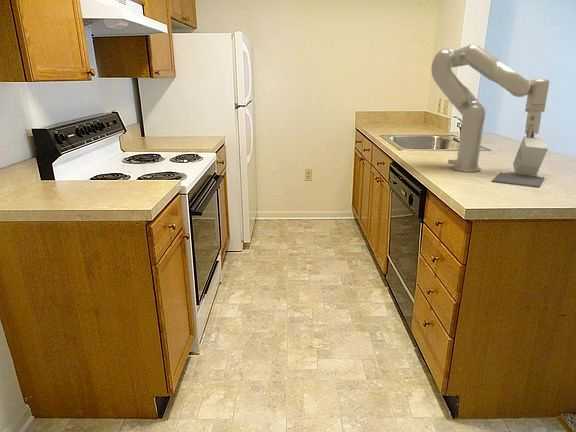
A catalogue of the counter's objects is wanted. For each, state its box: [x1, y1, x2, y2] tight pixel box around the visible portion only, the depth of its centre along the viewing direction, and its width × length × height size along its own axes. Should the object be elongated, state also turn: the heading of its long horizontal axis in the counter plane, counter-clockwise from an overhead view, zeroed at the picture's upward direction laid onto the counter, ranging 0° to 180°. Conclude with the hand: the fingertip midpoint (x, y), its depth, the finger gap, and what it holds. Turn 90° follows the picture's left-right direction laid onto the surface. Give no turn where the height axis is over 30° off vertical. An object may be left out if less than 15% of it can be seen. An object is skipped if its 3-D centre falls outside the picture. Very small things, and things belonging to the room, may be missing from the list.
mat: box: [491, 172, 545, 188], centre depth 181 cm, size 18×19×1 cm
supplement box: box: [512, 136, 549, 176], centre depth 187 cm, size 9×9×15 cm
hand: (528, 149), depth 190 cm, fingers closed
